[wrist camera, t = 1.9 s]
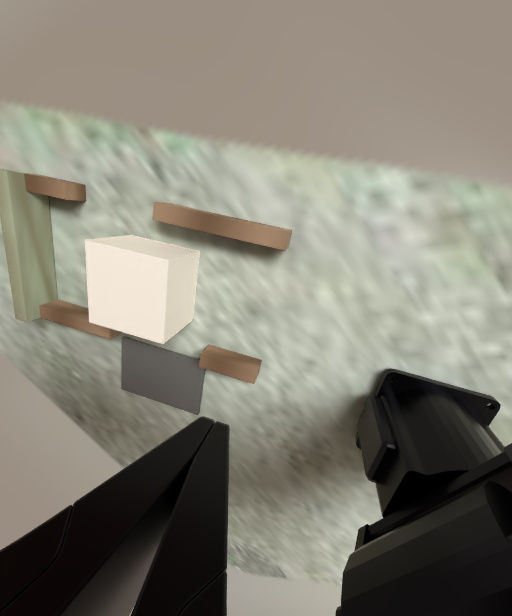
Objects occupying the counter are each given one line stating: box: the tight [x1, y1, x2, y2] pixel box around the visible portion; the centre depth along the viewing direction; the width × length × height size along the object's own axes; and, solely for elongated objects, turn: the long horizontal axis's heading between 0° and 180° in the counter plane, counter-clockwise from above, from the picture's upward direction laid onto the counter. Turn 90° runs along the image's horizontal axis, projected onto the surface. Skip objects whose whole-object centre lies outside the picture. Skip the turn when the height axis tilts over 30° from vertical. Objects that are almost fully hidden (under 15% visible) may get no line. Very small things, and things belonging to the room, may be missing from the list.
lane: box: [0, 169, 292, 384], centre depth 17 cm, size 18×10×2 cm, turn 78°
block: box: [85, 235, 200, 344], centre depth 17 cm, size 5×5×4 cm
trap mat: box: [122, 337, 205, 415], centre depth 21 cm, size 7×5×1 cm
